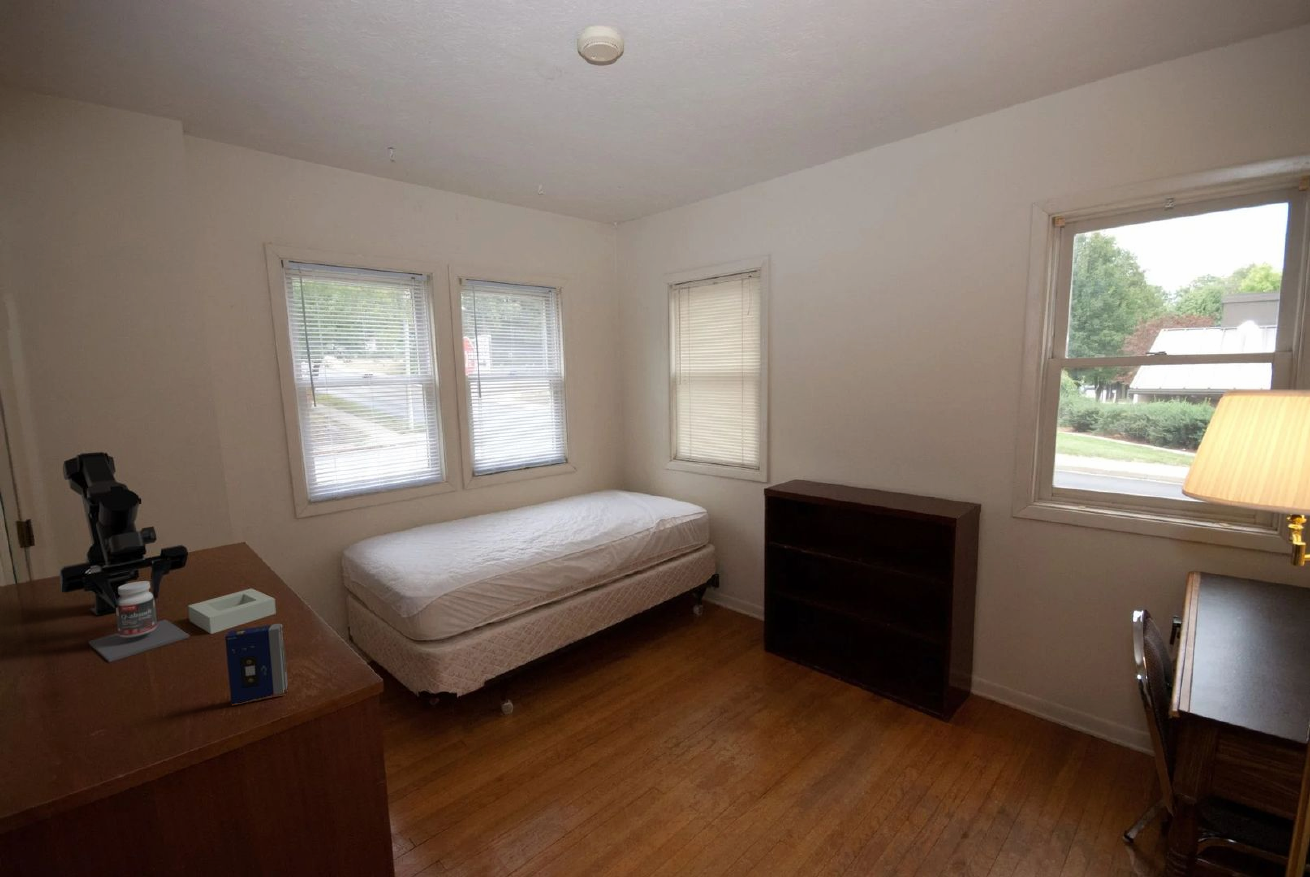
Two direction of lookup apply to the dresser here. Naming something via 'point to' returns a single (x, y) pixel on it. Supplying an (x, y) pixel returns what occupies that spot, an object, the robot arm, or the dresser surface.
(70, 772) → the dresser surface
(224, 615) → the socket block
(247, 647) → the cassette player
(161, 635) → the charcoal mat
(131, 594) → the pill bottle
